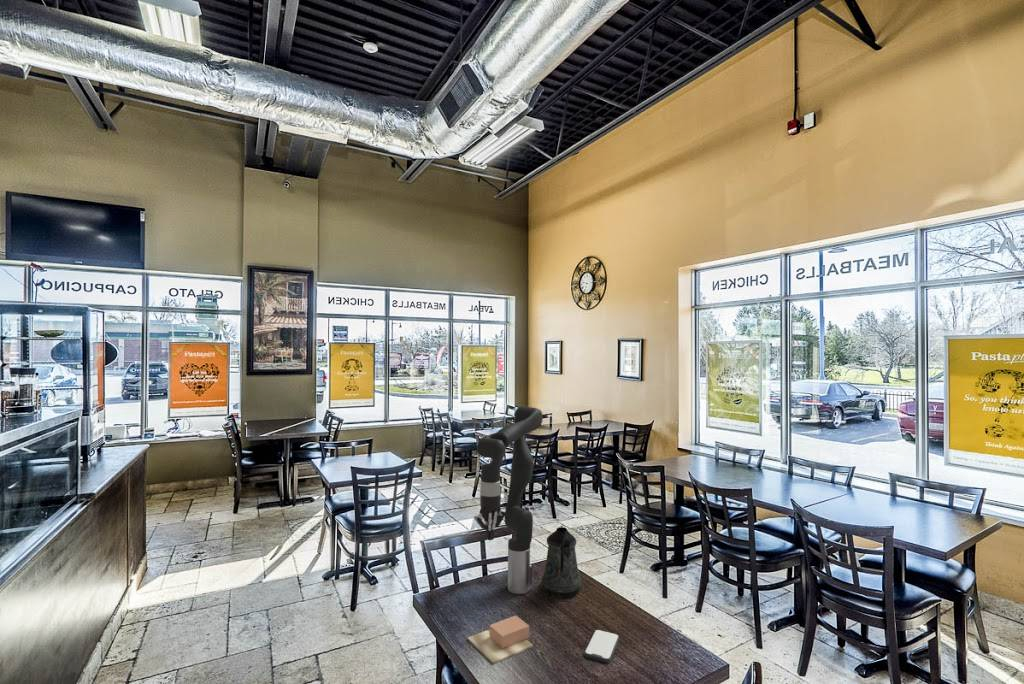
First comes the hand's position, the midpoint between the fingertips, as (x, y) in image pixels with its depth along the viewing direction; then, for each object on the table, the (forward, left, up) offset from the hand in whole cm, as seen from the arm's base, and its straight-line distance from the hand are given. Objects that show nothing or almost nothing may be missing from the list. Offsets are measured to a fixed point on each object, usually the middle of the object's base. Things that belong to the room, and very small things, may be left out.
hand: (490, 539), depth 181 cm
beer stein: (-37, -1, -29) cm, 47 cm away
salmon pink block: (-4, +15, -26) cm, 30 cm away
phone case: (-22, +36, -30) cm, 52 cm away
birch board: (+5, +15, -29) cm, 33 cm away
